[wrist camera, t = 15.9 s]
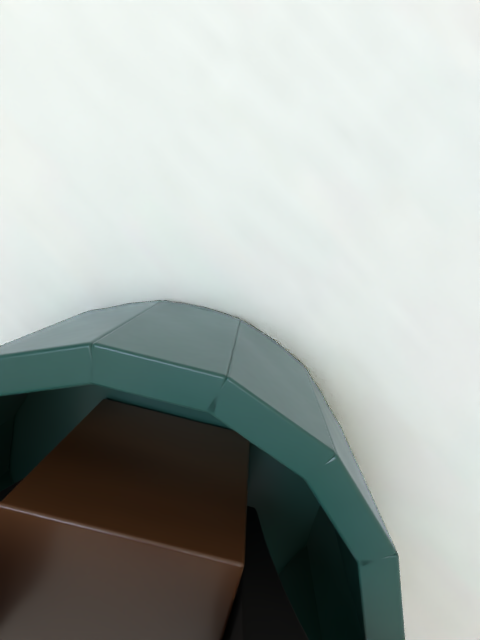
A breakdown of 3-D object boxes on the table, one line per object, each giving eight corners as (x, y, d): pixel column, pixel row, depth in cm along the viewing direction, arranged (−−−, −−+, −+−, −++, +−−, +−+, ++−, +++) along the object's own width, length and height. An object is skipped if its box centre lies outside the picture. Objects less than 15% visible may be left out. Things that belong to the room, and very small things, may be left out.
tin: (288, 645, 14) (307, 880, 9) (-17, 569, 14) (-179, 761, 9) (391, 353, 12) (501, 444, 6) (16, 260, 12) (-185, 273, 6)
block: (216, 556, 13) (192, 745, 8) (81, 523, 13) (-26, 691, 8) (250, 434, 12) (245, 565, 7) (103, 397, 12) (-5, 503, 7)
